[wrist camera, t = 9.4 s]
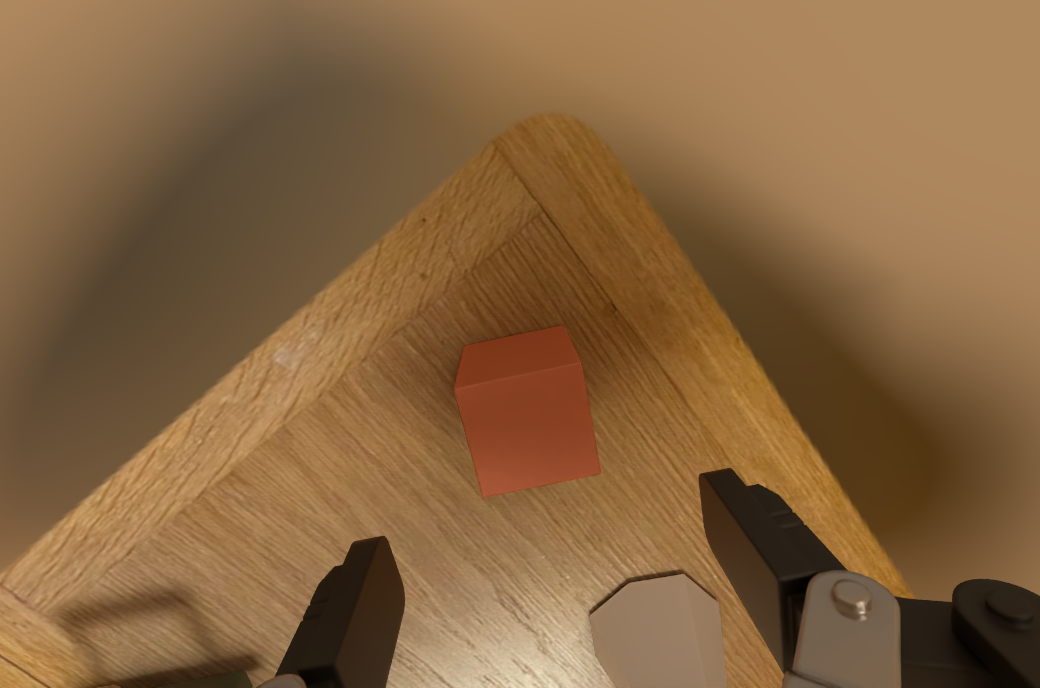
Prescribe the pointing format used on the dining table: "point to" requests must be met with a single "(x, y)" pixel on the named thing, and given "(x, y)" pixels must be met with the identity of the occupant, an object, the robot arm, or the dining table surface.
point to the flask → (660, 636)
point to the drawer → (210, 682)
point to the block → (526, 411)
